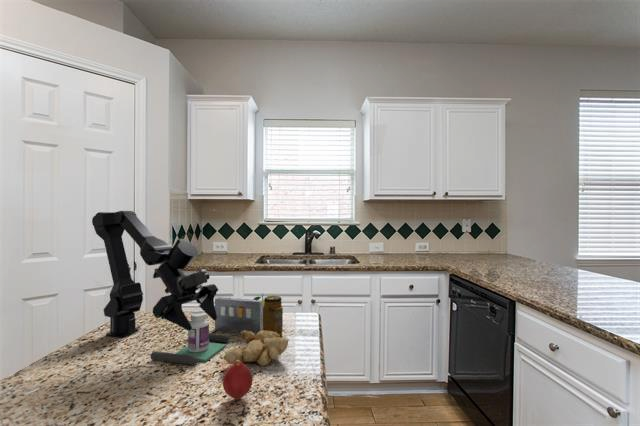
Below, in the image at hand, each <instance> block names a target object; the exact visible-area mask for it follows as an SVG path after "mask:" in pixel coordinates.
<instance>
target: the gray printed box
mask: <svg viewBox="0 0 640 426" xmlns="http://www.w3.org/2000/svg"><path fill="white" fill-rule="evenodd" d="M263 300H264V299H263ZM263 300H262V299H259V300H253V299H250V298H249V299H248V298H236V297H235V298H234V297H220V296H218V297H216V298H215V297H214V306H215V310H216V315H217V319H216V320H214V330H218V331H228V332H237V333H241V332H242V331H244V330H245V331H248V332H250V331H251V332H252V333H254V334H255V335H257V333H258V332H260V331H263Z"/></svg>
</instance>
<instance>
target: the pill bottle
mask: <svg viewBox="0 0 640 426" xmlns="http://www.w3.org/2000/svg"><path fill="white" fill-rule="evenodd" d="M189 323H190V325H191V327H192V329H191V330H190V331H188V330H187V346H188V350H189V351H190V352H195V353H197V352H202V351H205V350H207V349H208V347H209V343H210V340H209V333H210V323H209V321H208V319H207V313H206V312H205V311H197V312H193V313H191V314H190V321H189Z"/></svg>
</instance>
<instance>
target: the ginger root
mask: <svg viewBox="0 0 640 426" xmlns="http://www.w3.org/2000/svg"><path fill="white" fill-rule="evenodd" d="M240 338H241V341H244V343H245V344H246V345H245V346H243V347H240V348H239V347H236V348H235V347H233V348H231V349H229V350H228V351H227V352H225V354H224V356H223V358H222V359H223V360H225V362H226V363H227V364H229V365H234V364H235V363H234V362H235V361H236V360H240V361H241V363H245V362H247V363H248V362H257V364H259V365H260V366H263V367H264V366H267V365H268V364H270V362H271V361H272V360H276V359H278V358H279V356H281V355H282V354H283V353H284V352H285V351H286V350H287V348H288V345H289V340H286V339H285V338H280V335H279V334H277V333H276V332H272V331H260V332H258V333H257V334H255V333H252V332H251V331H250V332H248V331H245V330H244V331H242V332H240Z"/></svg>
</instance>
